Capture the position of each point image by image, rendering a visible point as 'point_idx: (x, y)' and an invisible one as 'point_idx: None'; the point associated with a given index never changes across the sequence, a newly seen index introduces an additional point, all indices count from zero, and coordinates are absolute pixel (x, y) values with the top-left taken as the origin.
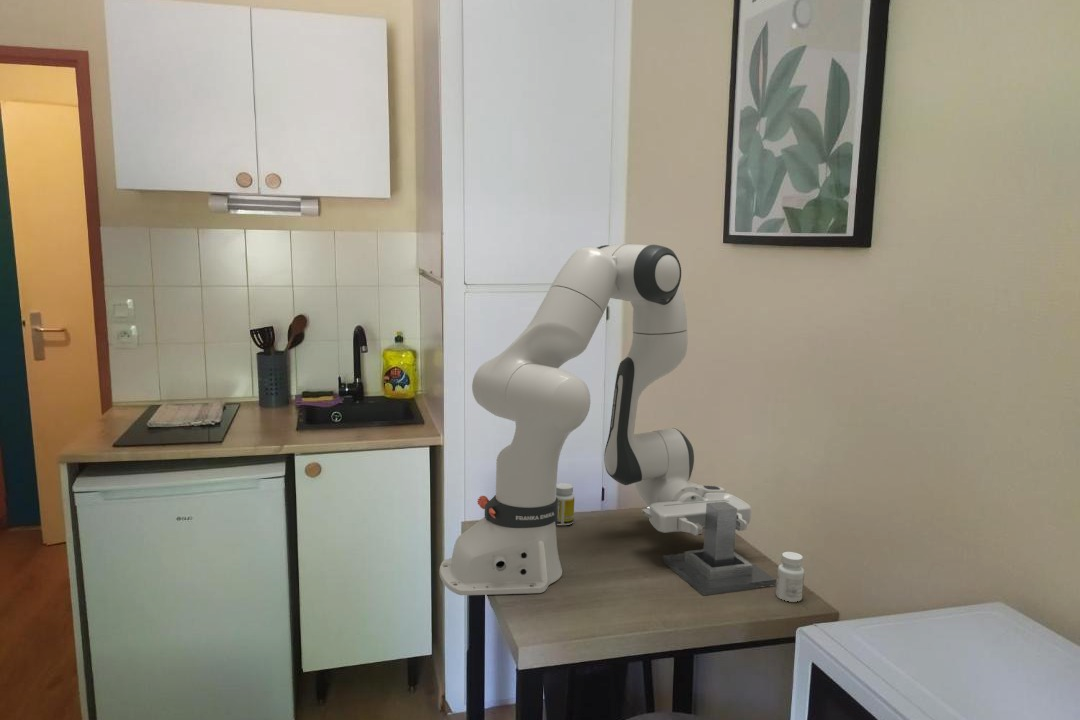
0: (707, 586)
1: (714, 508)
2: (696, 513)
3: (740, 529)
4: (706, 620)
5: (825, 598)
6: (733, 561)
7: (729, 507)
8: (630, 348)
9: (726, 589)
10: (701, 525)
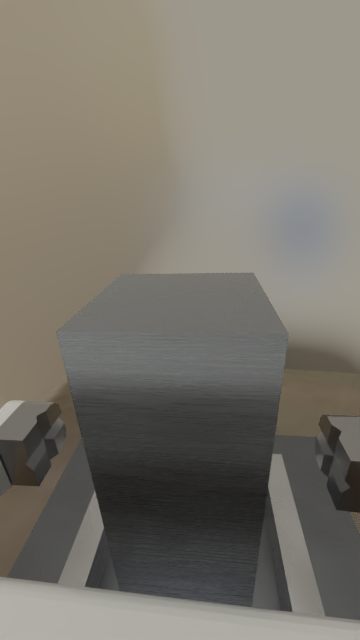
0: (300, 445)
1: (259, 288)
2: (355, 625)
3: (63, 427)
4: (332, 379)
5: (62, 380)
6: (103, 558)
7: (151, 280)
8: None
9: None
10: (329, 420)
